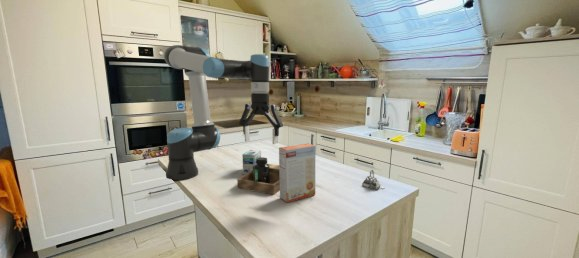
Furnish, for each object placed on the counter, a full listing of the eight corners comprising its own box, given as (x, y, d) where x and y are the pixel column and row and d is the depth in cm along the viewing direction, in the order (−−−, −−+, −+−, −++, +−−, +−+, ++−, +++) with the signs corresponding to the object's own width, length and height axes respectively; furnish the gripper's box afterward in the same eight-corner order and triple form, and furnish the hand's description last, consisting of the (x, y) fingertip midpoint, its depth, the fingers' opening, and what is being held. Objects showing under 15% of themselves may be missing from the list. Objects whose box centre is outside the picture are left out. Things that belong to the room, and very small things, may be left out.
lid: (251, 171, 127) (250, 165, 127) (263, 164, 138) (263, 159, 138) (285, 176, 120) (285, 170, 120) (295, 169, 131) (295, 163, 130)
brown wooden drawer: (237, 188, 118) (237, 179, 117) (252, 179, 129) (251, 171, 128) (274, 194, 111) (274, 185, 110) (286, 185, 121) (286, 176, 121)
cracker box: (307, 190, 115) (307, 142, 112) (315, 195, 110) (316, 145, 107) (278, 197, 107) (278, 146, 104) (286, 203, 102) (286, 149, 99)
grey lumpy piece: (389, 185, 122) (390, 169, 121) (380, 190, 116) (381, 173, 114) (371, 180, 128) (371, 165, 127) (361, 185, 122) (362, 169, 121)
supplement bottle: (255, 188, 115) (255, 161, 113) (253, 183, 122) (252, 157, 120) (271, 186, 117) (271, 160, 115) (268, 181, 124) (267, 156, 122)
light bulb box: (255, 175, 134) (254, 154, 133) (242, 175, 136) (241, 154, 134) (261, 169, 145) (261, 150, 143) (249, 168, 146) (249, 149, 144)
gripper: (230, 92, 114) (231, 141, 118) (283, 93, 104) (283, 146, 108) (240, 92, 121) (241, 138, 124) (290, 93, 111) (290, 143, 115)
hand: (260, 142), depth 116 cm, fingers open, 13 cm apart
